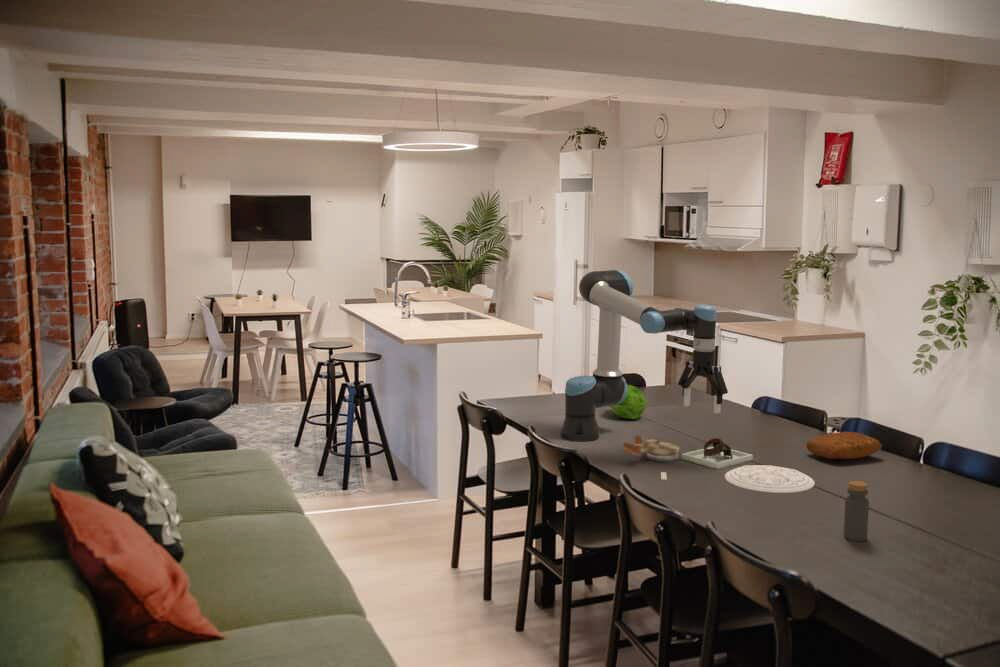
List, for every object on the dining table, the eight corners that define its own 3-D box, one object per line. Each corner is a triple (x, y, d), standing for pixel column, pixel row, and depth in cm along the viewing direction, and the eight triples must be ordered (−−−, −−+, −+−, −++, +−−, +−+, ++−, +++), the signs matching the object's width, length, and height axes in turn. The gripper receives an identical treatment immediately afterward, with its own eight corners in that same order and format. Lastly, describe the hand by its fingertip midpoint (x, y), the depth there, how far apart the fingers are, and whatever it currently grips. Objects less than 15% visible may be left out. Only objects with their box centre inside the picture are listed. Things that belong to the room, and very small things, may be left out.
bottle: (839, 534, 241) (842, 480, 239) (860, 533, 242) (863, 479, 240) (849, 541, 235) (852, 486, 233) (871, 541, 236) (874, 486, 234)
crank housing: (640, 456, 320) (640, 450, 319) (661, 451, 326) (661, 445, 326) (662, 463, 311) (662, 456, 310) (684, 458, 317) (684, 451, 317)
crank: (661, 444, 326) (662, 425, 325) (686, 451, 317) (687, 432, 316) (618, 453, 314) (618, 434, 313) (642, 461, 304) (643, 441, 303)
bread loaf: (852, 449, 328) (853, 428, 327) (885, 461, 312) (886, 439, 311) (801, 454, 321) (802, 433, 320) (833, 467, 305) (834, 444, 304)
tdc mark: (660, 472, 299) (660, 472, 299) (666, 473, 299) (666, 472, 299) (661, 479, 291) (661, 479, 291) (666, 480, 291) (666, 479, 291)
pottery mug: (736, 463, 310) (726, 444, 307) (711, 473, 312) (701, 454, 310) (732, 446, 321) (722, 428, 318) (707, 456, 323) (698, 438, 321)
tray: (681, 459, 316) (681, 453, 315) (717, 451, 327) (717, 445, 326) (716, 469, 303) (717, 463, 302) (752, 460, 314) (752, 455, 313)
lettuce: (596, 418, 390) (627, 420, 395) (619, 417, 369) (651, 420, 374) (597, 385, 392) (628, 387, 397) (620, 382, 371) (653, 385, 375)
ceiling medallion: (814, 473, 299) (814, 464, 299) (814, 498, 273) (815, 488, 273) (728, 466, 309) (728, 457, 308) (721, 489, 282) (721, 479, 282)
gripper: (669, 346, 318) (667, 404, 321) (725, 355, 298) (723, 417, 301) (683, 344, 323) (681, 401, 326) (739, 353, 303) (737, 414, 306)
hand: (701, 409), depth 313 cm, fingers open, 13 cm apart
